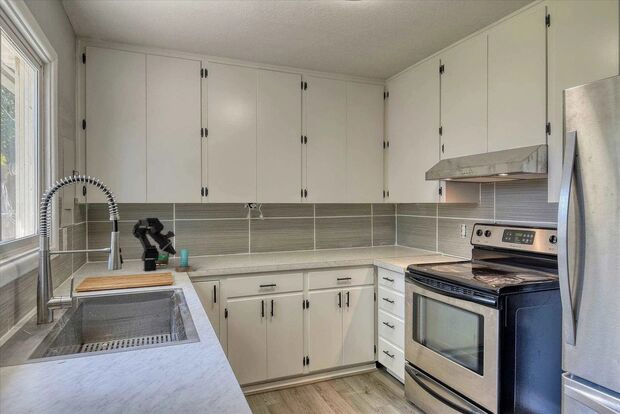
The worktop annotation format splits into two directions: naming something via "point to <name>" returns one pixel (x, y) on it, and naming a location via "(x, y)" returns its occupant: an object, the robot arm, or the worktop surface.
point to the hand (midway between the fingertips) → (175, 253)
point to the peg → (184, 258)
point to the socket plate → (184, 269)
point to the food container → (162, 257)
